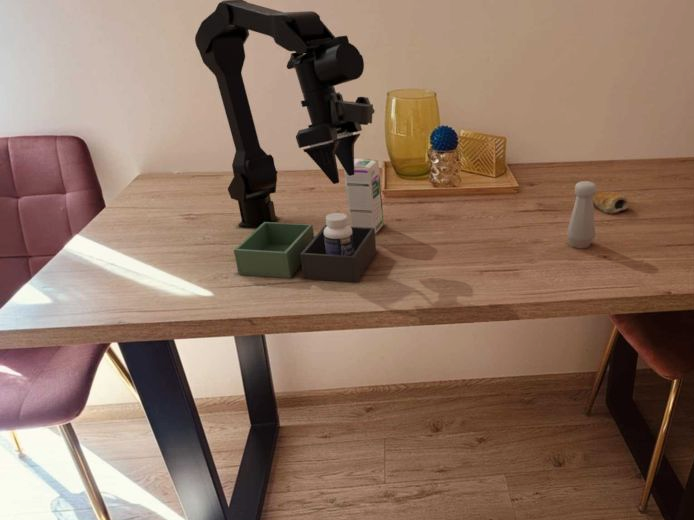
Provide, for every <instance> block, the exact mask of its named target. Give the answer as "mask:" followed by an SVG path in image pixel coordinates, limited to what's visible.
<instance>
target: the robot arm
mask: <svg viewBox="0 0 694 520" xmlns="http://www.w3.org/2000/svg"><path fill="white" fill-rule="evenodd" d="M249 31H252V32H255V33H257V34H258V33H259V34H261V35H265V36H268V37H271V38H272V39H273V41H274V43H275V44H276V45H278V46H279V47H280V48H282V49H285V50H286V51H288V52H291V53H290V57H289V60H288V61H287V63H286V69H287V70H292V69H294V70H295V74H296V77H297V81H298V83H299V86H300V90H301V93H302V97H303V100H300V104H301V106H302V107H301V108H306V111H307V113H308V116H309V120H310V124H308V125H307V128H301V129H299V130H298V131H297V133H296V135H295V140H296V143H297V146H298V148H299V149H301V148H303V149H302V150H303V152H304V153H305V154H307V155H308V156H309V157H310V159H311V160H312V161H313V162H314V163H315V164H316V165H317V166H318V167H319V169H320V170H321V171H322V173H323V174H325V176H326V177H327V178H328V179H329V181H330V182H331V183H332V184H333V185H336V184H339V183H340V177H339V176H340V175H339V169H338V163H337V160H338V162H339V163H340V165H341V167H342V168H343V170H344V169H345V171H346V172H347V174H348V175H349V176H351V175H354V159H355V144H356V143H357V140H358V139H359V137H360V136H361V131H363V128H362V126H367V125H369V124H373V115H374V113H375V112H376V111H375V109H374V104H373V103H371V102H370V101H371V100H370V99H369V97H366V96H358V97H356V100H355V101H353V100H352V101H349V100H344V98H343V95H342V93H340V92H336V91H337V90H336V88H335V86H339V85H342V84H345V83H349V82H352V81H355V80H358V79H360V78H361V76H363V73H364V70H365V61H364V57H363V55H362V54H361V53H360V50H359V49H358V47H356V46H355V45H354V44H352V43H350V41H349V37H348V35H340V36H335V35H334V34H333V32H332V31H331V30H330V29H329V28H328V26H327V25H325V23H324V22H323V21H322V20H321V16H320V14H318V13H317V12H315V11H312V10H309V11H308V10H307V11H286V12H285V11H280V10H277V9H274V8H269V7H265V6H261V5H259V4H254V3H250V2H248V1H246V0H221V2H219V3H218V4H217V6H216V8H215V10H214V11H213V12H211V13H210V14H209V15H208V16H206V17H205V18H204V19H203V20H202V21H201V23H200V25H199V27H198V29H197V31H196V33H195V37H194V42H195V47H196V48H197V50H198V52H199V55H200V58H201V61H202V62H203V64H204V65H205V66H206V67H207V68H208V70H209V71H210V72H211V73H212V74H213V75H214V76H215V79H216V82H217V86H218V90H219V93H220V98H221V101H222V105H223V109H224V112H225V116H226V119H227V123H228V126H229V130H230V133H231V138H232V142H233V145H234V149H235V154H234V156H233V160H232V164H231V168H232V172H233V178H232V180H231V182H230V184H229V185H228V187H227V192H228V194H229V197H230V199H232V200H234V201H237V204H238V209H239V214H240V219H241V221H240V222H239V223H238V227H243V228H256V229H257V228H258V227H259V226H260V225H261V224H263V223H264V222H275V221H276V220H277V219H278V215H276V209H275V204H274V201H273V200H272V198H271V194H276V192H277V182H278V170H277V168H276V165H275V159H274V157H273V155H272V154H268V153H267V152H265V151H264V149H263V148H262V147H261V145H260V140H259V137H258V133H257V129H256V125H255V121H254V117H253V114H252V109H251V106H250V102H249V98H248V94H247V90H246V86H245V82H244V79H243V73H242V71H243V67H244V63H245V60H246V52H245V51H246V50H245V43H246V42H247V40H248V39H249V36H250V32H249ZM354 133H355V134H354Z"/></svg>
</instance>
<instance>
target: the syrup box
mask: <svg viewBox="0 0 694 520" xmlns="http://www.w3.org/2000/svg"><path fill="white" fill-rule="evenodd" d="M379 165H380V164H379V160H377V159H372V158H354V175H351V176H349V175H348V174H347V172H346V171H345V169H344V168H343V172H344V182H345V191H346V199H347V207H348V215H349V217H348V218H349V224H350V225H349V226H350V227H364V228H374V229H375V235H376V234H377V233H378V232H379V230H380V229H381V228H382V227H383V226H384V225H385V221H384V211H383V210H384V209H383V198H382V197H383V196H382V186H381V178H380V177H381V176H380V166H379Z"/></svg>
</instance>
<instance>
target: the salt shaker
mask: <svg viewBox="0 0 694 520" xmlns="http://www.w3.org/2000/svg"><path fill="white" fill-rule="evenodd" d="M596 192H598V188H597V184H595V183H594V182H592V181H587V180H584V181H583V180H581V181H578V182H577V183H576V184H575V186H574V195H576V198H575V202H574V205H573V209H572V212H571V216H570V220H569V223H568V227H567V230H566V235H567V239H568V241H569V244H570V246H571V247H573V248H577V249H586V248H589V247H590V245H591V244H592V242H593V241H594V239H595V238H596V225H595V209H594V202H593V196H595V195H596Z"/></svg>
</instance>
